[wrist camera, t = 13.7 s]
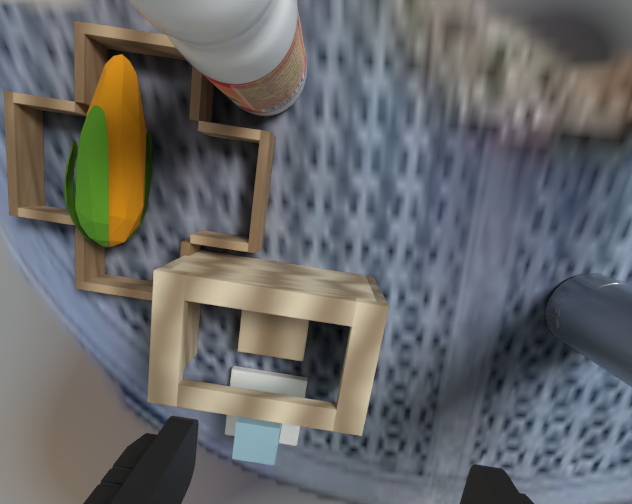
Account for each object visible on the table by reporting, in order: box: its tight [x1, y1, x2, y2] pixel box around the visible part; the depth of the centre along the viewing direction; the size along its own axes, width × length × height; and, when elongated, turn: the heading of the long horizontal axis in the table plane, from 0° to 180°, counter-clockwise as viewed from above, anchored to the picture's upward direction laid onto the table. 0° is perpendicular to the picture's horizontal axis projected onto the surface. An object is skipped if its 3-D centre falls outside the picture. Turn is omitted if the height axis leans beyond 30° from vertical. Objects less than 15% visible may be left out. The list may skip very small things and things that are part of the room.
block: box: [232, 389, 284, 465], centre depth 39 cm, size 5×5×6 cm
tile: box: [225, 366, 308, 446], centre depth 43 cm, size 10×10×1 cm
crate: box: [147, 250, 389, 436], centre depth 36 cm, size 22×14×10 cm, turn 81°
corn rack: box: [4, 21, 276, 301], centre depth 36 cm, size 28×28×4 cm
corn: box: [64, 54, 152, 247], centre depth 34 cm, size 7×8×20 cm
